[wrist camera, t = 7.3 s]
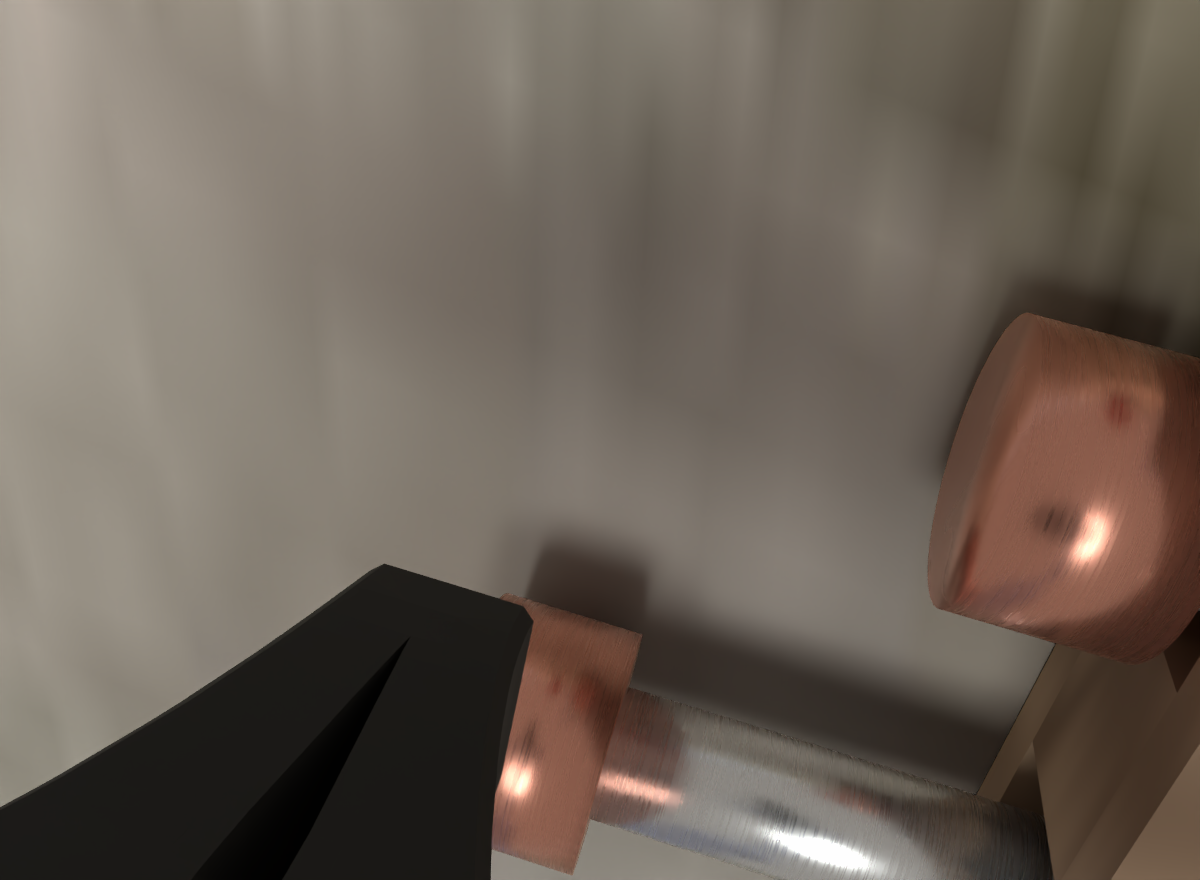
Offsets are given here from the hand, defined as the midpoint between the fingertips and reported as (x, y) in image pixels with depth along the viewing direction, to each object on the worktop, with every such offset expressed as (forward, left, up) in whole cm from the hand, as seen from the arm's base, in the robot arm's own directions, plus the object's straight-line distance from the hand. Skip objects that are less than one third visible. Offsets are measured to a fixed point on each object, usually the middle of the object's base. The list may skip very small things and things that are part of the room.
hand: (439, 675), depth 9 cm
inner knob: (-7, -5, -9) cm, 12 cm away
